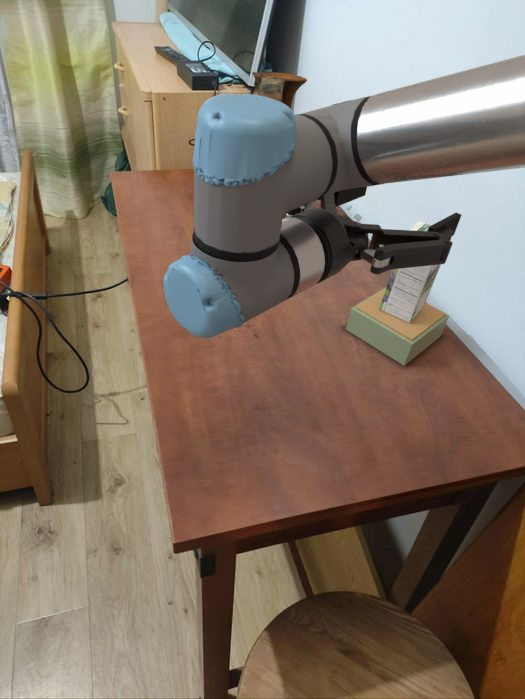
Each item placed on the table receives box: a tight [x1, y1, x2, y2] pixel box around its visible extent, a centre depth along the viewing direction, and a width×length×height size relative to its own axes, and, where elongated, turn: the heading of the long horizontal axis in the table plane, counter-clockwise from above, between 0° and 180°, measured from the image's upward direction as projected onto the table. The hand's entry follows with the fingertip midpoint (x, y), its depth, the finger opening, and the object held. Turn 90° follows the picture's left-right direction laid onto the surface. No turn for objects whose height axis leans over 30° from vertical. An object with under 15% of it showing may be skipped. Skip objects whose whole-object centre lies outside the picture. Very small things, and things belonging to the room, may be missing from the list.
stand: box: [345, 286, 450, 367], centre depth 87 cm, size 12×12×5 cm
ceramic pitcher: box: [251, 71, 308, 219], centre depth 107 cm, size 20×20×30 cm
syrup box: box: [379, 221, 453, 323], centre depth 81 cm, size 6×6×14 cm
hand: (408, 203), depth 66 cm, fingers open, 13 cm apart
